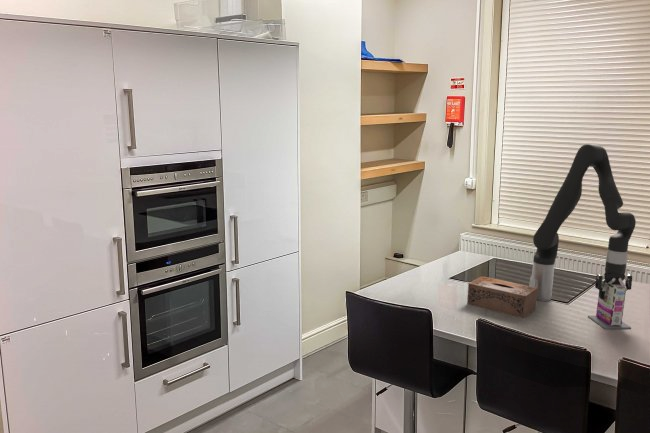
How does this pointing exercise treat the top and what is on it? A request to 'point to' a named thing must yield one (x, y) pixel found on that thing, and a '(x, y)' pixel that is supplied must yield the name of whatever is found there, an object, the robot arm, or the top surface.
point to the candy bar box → (612, 305)
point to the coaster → (605, 325)
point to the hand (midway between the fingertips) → (611, 299)
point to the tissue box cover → (502, 296)
